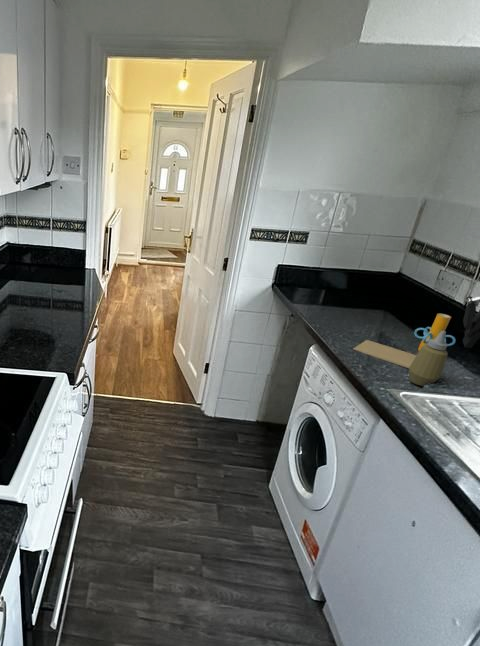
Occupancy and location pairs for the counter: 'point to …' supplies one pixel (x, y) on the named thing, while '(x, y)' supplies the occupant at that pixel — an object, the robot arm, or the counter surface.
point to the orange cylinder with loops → (435, 330)
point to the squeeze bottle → (429, 361)
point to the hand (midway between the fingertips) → (466, 343)
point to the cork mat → (386, 353)
